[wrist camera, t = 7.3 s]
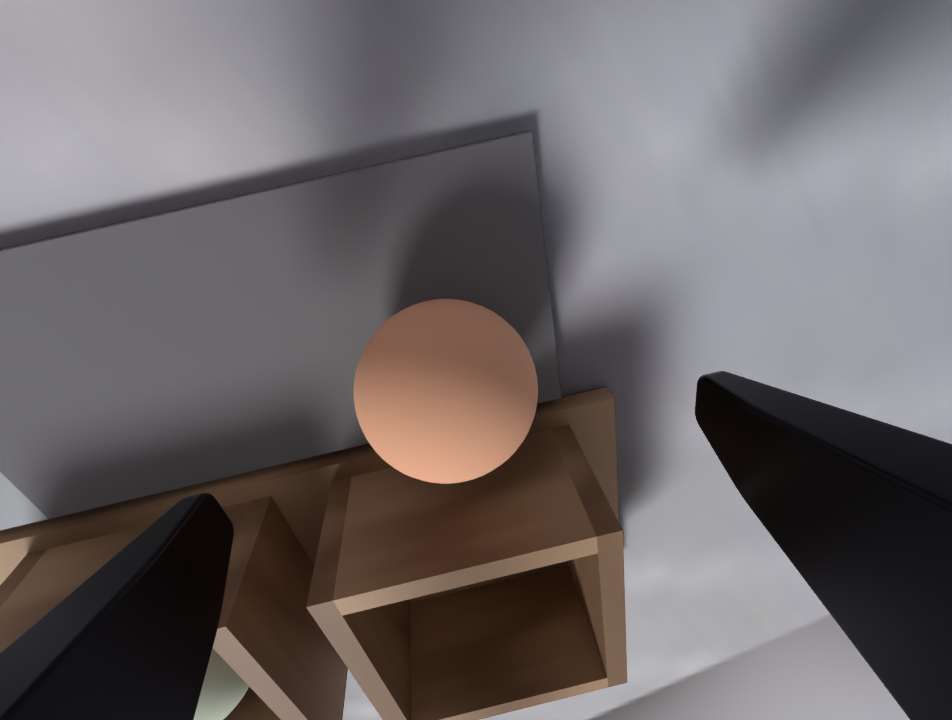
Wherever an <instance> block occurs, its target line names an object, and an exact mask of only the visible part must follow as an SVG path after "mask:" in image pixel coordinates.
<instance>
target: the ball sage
mask: <svg viewBox="0 0 952 720" xmlns="http://www.w3.org/2000/svg"><path fill="white" fill-rule="evenodd" d="M248 688H249V686H248V685H247V683H246V682H245V681H244V680H243V679H242V678H241V677H240V676H239V675H238V674H237V673H236V672H235V671H234V670H233V669H232V668H231V667H230V666H229V665H228V664H227V663H226V661H225V660H224V659H223V658H222V657H221V656H220V655H219V654H218V653H217V652H216V651H215V650H214V649H213V648H212V652H211V656H210V660H209V663H208V667H207V671H206V675H205V678H204V682H203V686H202V690H201V693H200V697H199V701H198V705H197V708H196V712H195V716H194V720H223V719H225V718H226V717H227V716H228V715H229V713H230V712H231V711H232V710H233V709H234V708H235V707H236V706H237V705H238V703H239V702H240V700H241V699H242V698H243V696H244V695H245V693H246V691H247V690H248Z"/></svg>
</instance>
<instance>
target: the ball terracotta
mask: <svg viewBox="0 0 952 720" xmlns="http://www.w3.org/2000/svg"><path fill="white" fill-rule="evenodd" d="M537 399H538V382H537V374H536V370H535V365H534V363H533V360H532V357H531V355H530V352H529V350H528V348H527V346H526V345H525V343H524V341H523V340H522V338H521V337H520V335H519V334H518V333H517V332H516V331H515V329H514V328H513V327H512V326H511V325H510V324H508V323H507V322H506V321H505V320H504V319H503V318H502V317H500V316H499V315H497V314H496V313H494V312H493V311H491V310H489V309H487V308H485V307H483V306H480V305H477V304H474V303H471V302H467V301H463V300H456V299H435V300H429V301H424V302H421V303H417V304H414V305H412V306H410V307H407V308H405V309H403V310H402V311H400V312H398V313H397V314H395V315H393V316H392V317H391V318H389V319H388V320H387V321H386V322H384V323H383V324H382V325H381V326H380V327H379V328H378V329H377V330H376V332H375V333H374V334H373V336H372V337H371V338H370V340H369V341H368V343H367V344H366V346H365V348H364V350H363V352H362V354H361V356H360V359H359V362H358V365H357V368H356V372H355V378H354V404H355V410H356V416H357V419H358V422H359V425H360V427H361V429H362V431H363V433H364V435H365V437H366V439H367V441H368V442H369V443H370V445H371V446H372V448H373V449H374V450H375V451H376V453H377V454H378V455H379V456H380V457H381V458H382V459H383V460H384V461H386V462H387V463H388V464H389V465H391V466H392V467H393V468H395V469H396V470H398V471H400V472H401V473H403V474H405V475H408V476H410V477H413V478H416V479H419V480H422V481H426V482H431V483H440V484H450V483H460V482H465V481H469V480H472V479H476V478H478V477H481V476H483V475H485V474H487V473H489V472H491V471H493V470H494V469H496V468H497V467H499V466H500V465H502V464H503V463H504V462H505V461H506V460H508V459H509V458H510V457H511V456H512V455H513V454H514V453H515V451H516V450H517V449H518V447H519V446H520V445H521V443H522V442H523V441H524V439H525V437H526V435H527V434H528V432H529V429H530V427H531V424H532V422H533V419H534V416H535V412H536V407H537Z"/></svg>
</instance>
